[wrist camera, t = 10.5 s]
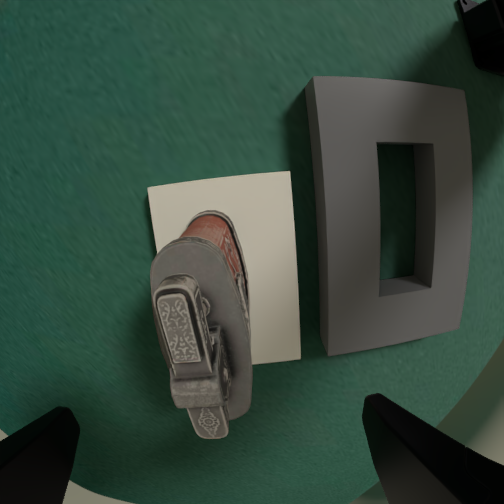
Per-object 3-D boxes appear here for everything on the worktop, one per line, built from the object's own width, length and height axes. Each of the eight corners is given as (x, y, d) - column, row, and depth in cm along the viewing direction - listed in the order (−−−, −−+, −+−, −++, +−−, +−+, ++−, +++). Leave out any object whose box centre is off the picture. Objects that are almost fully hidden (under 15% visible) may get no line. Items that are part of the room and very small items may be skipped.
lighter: (257, 334, 19) (266, 461, 10) (204, 340, 20) (178, 465, 10) (237, 205, 17) (227, 255, 8) (177, 214, 17) (103, 273, 8)
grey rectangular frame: (443, 95, 16) (464, 90, 14) (442, 313, 21) (458, 328, 18) (304, 87, 17) (313, 76, 14) (319, 336, 21) (327, 356, 18)
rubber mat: (287, 170, 18) (290, 171, 17) (298, 351, 21) (300, 359, 20) (152, 186, 18) (147, 187, 17) (184, 360, 21) (182, 368, 20)
